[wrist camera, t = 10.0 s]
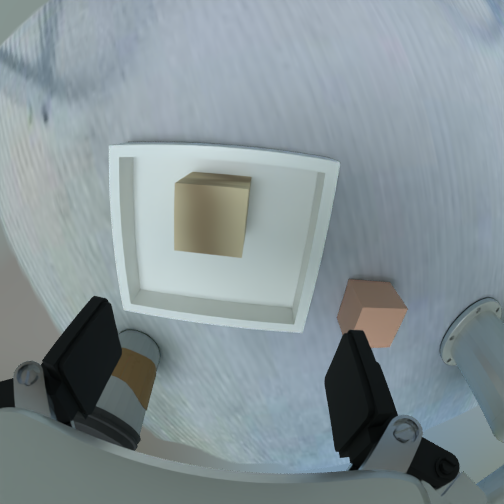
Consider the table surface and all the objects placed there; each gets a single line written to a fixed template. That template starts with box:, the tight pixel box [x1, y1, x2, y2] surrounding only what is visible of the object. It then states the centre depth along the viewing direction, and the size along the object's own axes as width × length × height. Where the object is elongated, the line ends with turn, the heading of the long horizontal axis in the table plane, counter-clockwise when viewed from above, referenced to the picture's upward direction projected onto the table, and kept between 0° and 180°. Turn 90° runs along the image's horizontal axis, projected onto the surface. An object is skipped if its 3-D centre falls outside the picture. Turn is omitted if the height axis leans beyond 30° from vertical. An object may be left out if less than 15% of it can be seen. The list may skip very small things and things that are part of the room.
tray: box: [109, 142, 340, 333], centre depth 24 cm, size 18×16×4 cm
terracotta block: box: [337, 279, 408, 348], centre depth 26 cm, size 5×5×5 cm
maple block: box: [174, 172, 252, 258], centre depth 21 cm, size 5×5×5 cm
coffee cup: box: [73, 330, 160, 451], centre depth 26 cm, size 8×8×15 cm
